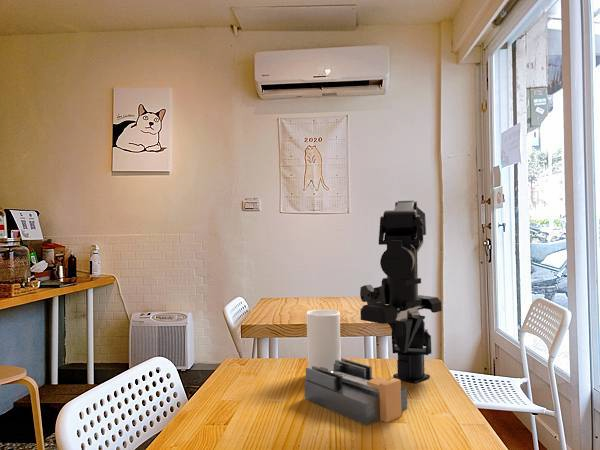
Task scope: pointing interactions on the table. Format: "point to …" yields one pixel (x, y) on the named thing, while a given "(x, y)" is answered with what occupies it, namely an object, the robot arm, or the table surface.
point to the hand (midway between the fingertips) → (403, 352)
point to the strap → (356, 381)
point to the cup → (323, 338)
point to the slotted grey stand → (346, 391)
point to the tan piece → (388, 397)
